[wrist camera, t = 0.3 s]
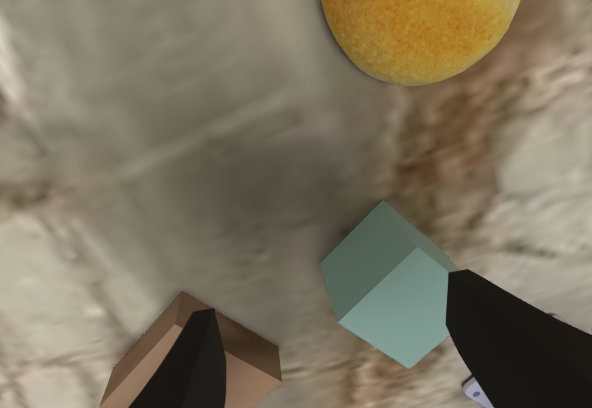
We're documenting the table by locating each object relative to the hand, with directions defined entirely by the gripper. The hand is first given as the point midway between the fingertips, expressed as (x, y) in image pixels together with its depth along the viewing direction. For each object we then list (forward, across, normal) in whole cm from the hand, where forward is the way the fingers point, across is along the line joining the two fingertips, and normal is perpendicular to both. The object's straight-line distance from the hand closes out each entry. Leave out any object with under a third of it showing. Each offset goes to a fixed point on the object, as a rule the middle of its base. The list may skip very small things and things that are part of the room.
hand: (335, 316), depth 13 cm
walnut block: (+10, +7, +10) cm, 16 cm away
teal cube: (+10, -4, +5) cm, 12 cm away
